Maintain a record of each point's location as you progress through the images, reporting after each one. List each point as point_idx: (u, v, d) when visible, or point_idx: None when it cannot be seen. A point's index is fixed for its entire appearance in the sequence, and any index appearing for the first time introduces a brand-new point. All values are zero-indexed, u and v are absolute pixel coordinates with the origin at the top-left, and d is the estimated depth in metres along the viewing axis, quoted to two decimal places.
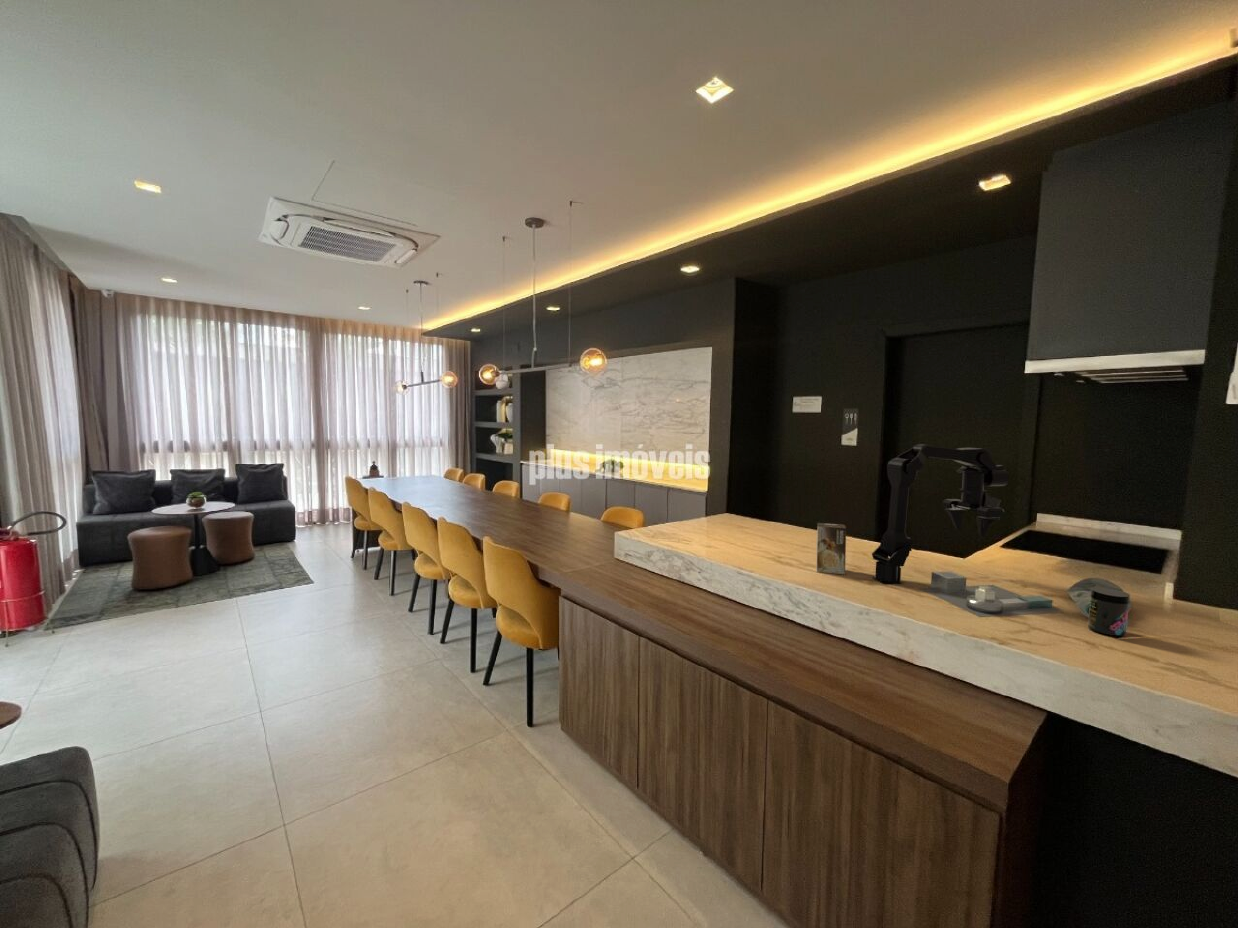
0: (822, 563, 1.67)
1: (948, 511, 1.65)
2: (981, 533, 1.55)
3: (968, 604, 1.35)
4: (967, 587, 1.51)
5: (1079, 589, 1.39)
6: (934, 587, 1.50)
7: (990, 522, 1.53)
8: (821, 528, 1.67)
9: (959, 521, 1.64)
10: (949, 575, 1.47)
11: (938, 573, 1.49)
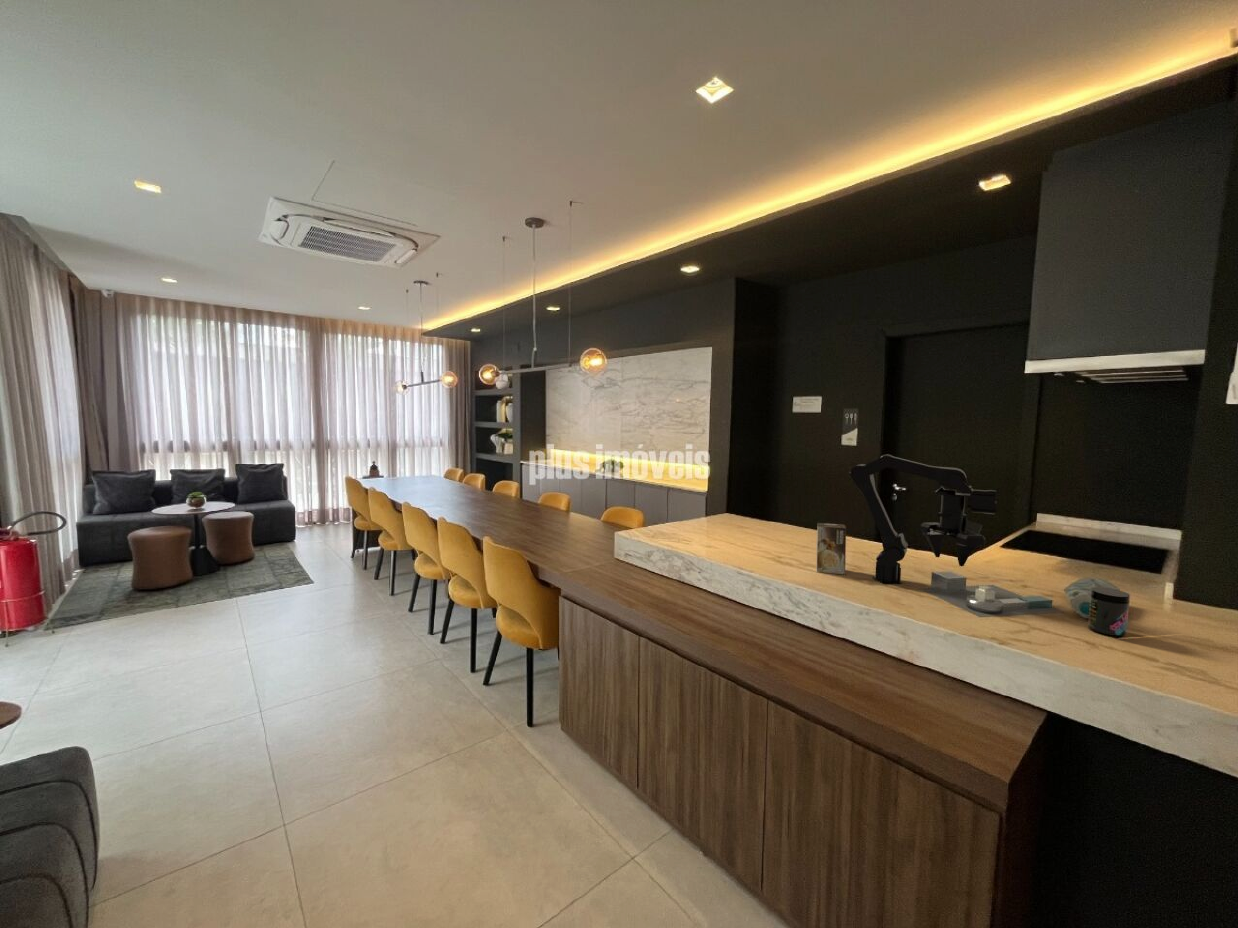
0: (822, 563, 1.67)
1: (926, 536, 1.53)
2: (960, 561, 1.42)
3: (968, 604, 1.35)
4: (967, 587, 1.51)
5: (1076, 588, 1.40)
6: (934, 587, 1.50)
7: (970, 550, 1.41)
8: (821, 528, 1.67)
9: (937, 547, 1.52)
10: (949, 575, 1.47)
11: (938, 573, 1.49)
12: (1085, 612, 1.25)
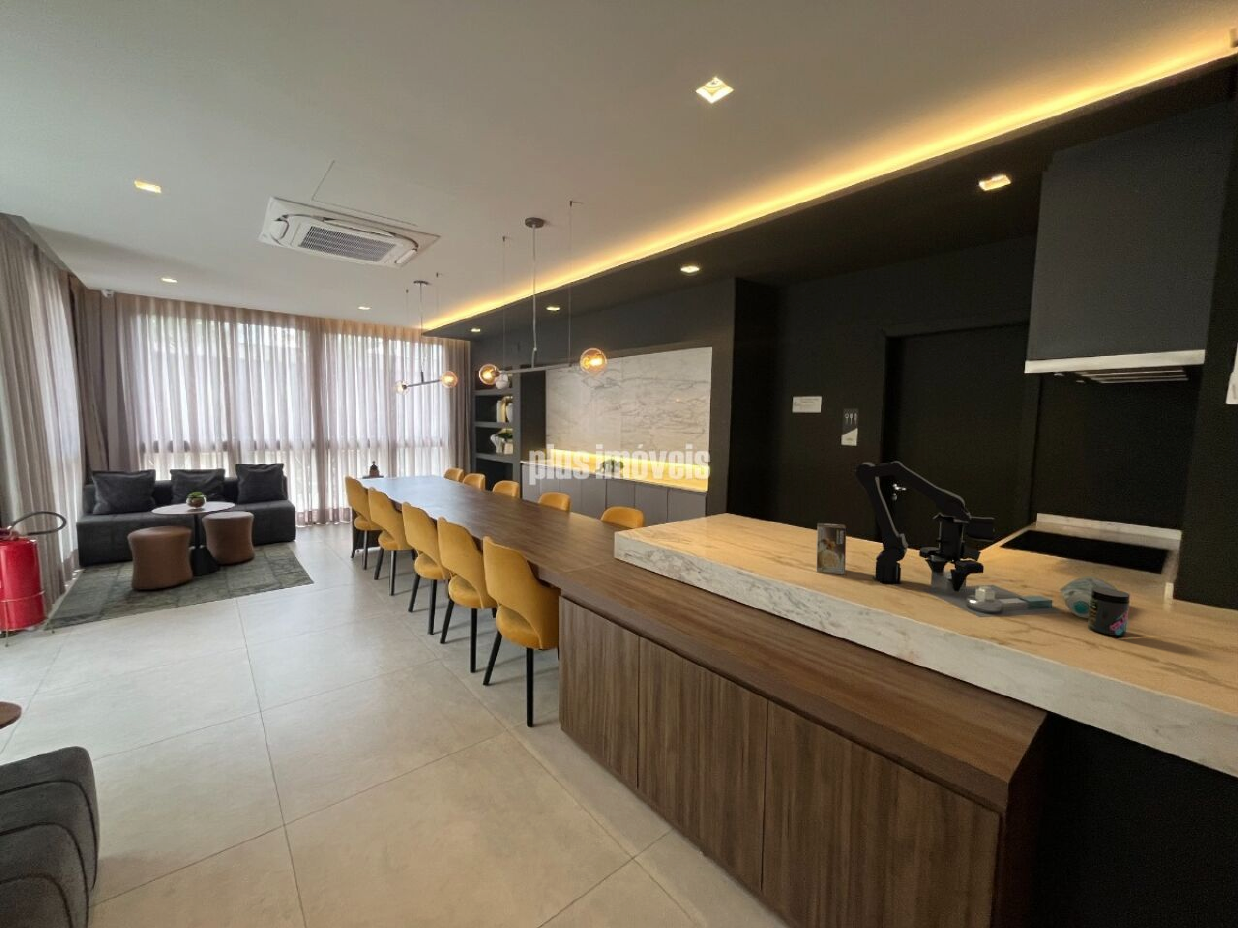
0: (822, 563, 1.67)
1: (928, 562, 1.52)
2: (955, 587, 1.44)
3: (968, 604, 1.35)
4: (967, 587, 1.51)
5: (1072, 588, 1.40)
6: (934, 587, 1.50)
7: (965, 575, 1.43)
8: (821, 528, 1.67)
9: None
10: (949, 575, 1.47)
11: (938, 573, 1.49)
12: (1079, 611, 1.26)
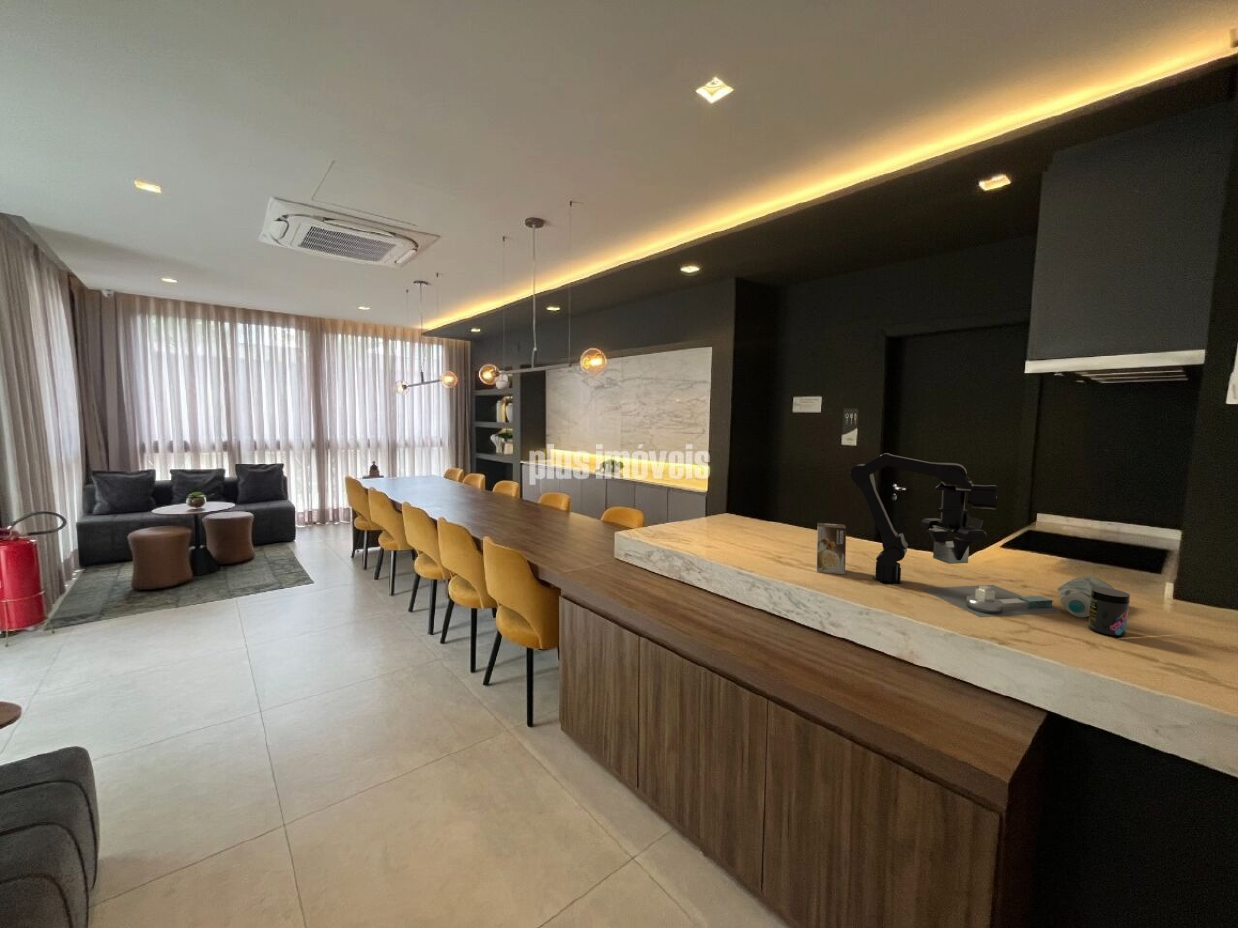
0: (822, 563, 1.67)
1: (930, 532, 1.51)
2: (958, 556, 1.43)
3: (968, 604, 1.35)
4: (967, 587, 1.51)
5: (1070, 587, 1.41)
6: (936, 557, 1.49)
7: (967, 544, 1.42)
8: (821, 528, 1.67)
9: None
10: (951, 544, 1.46)
11: (940, 543, 1.48)
12: (1074, 610, 1.27)
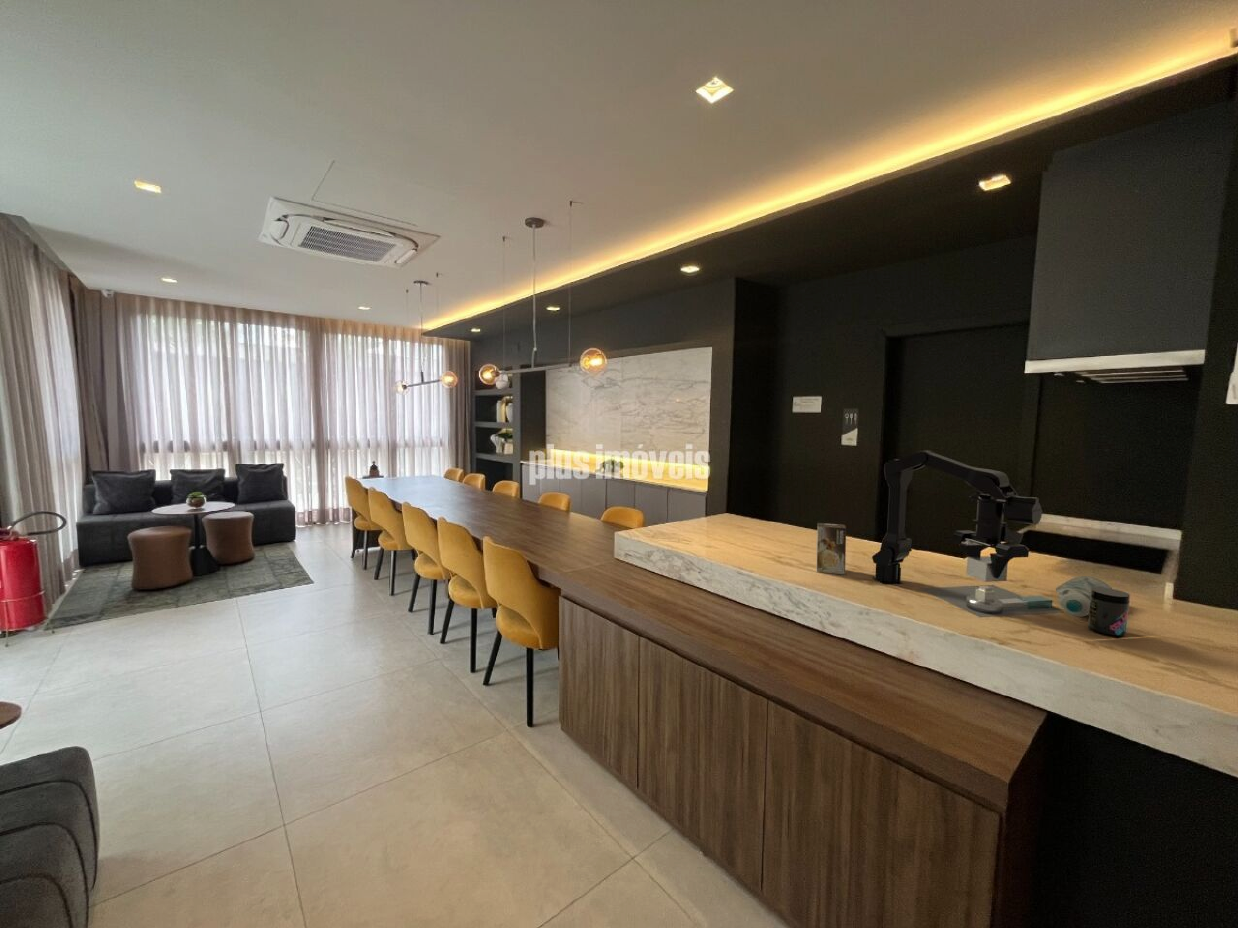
0: (822, 563, 1.67)
1: (963, 546, 1.38)
2: (996, 573, 1.30)
3: (968, 604, 1.35)
4: (967, 587, 1.51)
5: (1068, 587, 1.41)
6: (970, 574, 1.35)
7: (1006, 560, 1.29)
8: (821, 528, 1.67)
9: None
10: (988, 560, 1.33)
11: (975, 558, 1.35)
12: (1071, 609, 1.27)
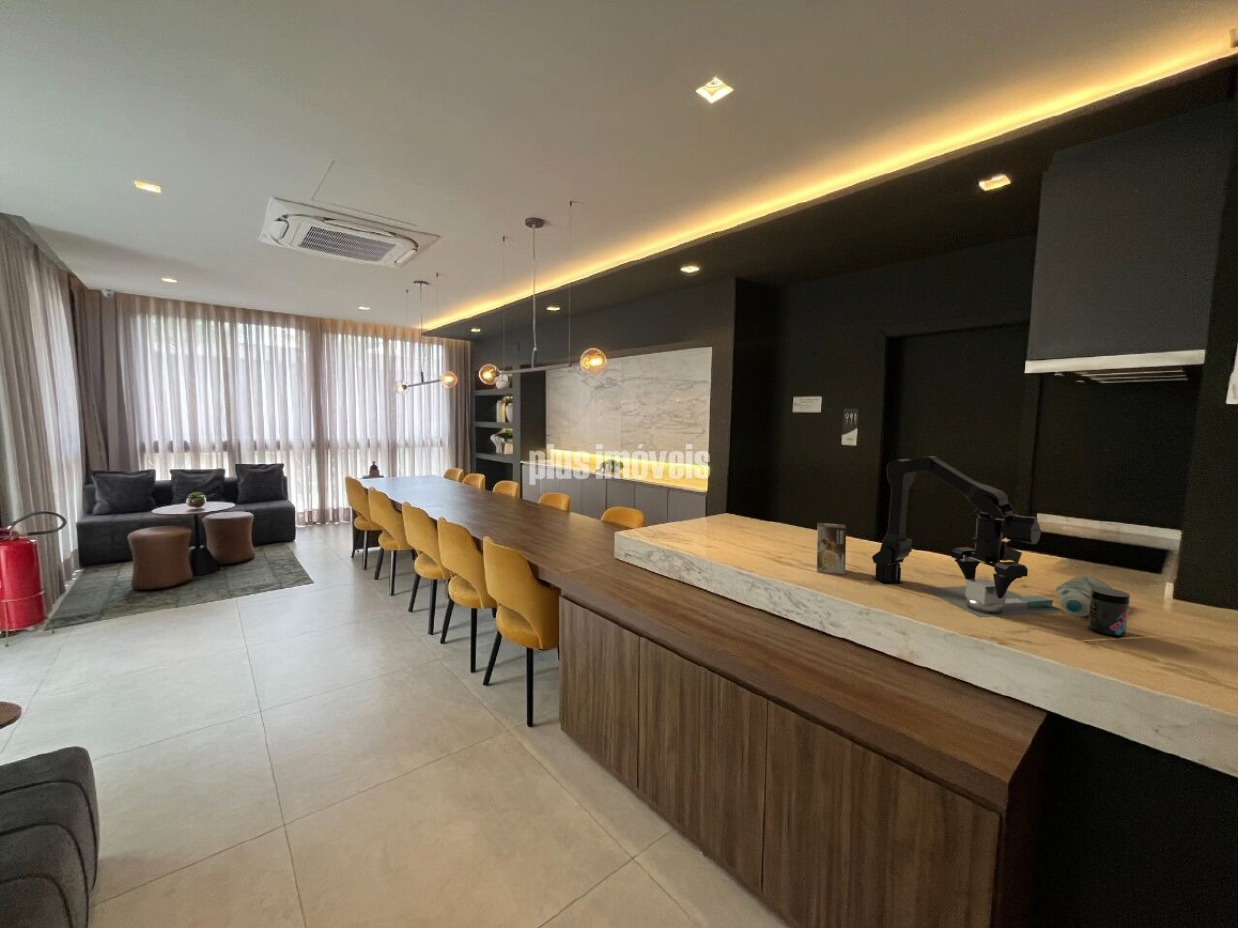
0: (822, 563, 1.67)
1: (959, 563, 1.39)
2: (999, 593, 1.29)
3: (968, 604, 1.35)
4: None
5: (1068, 587, 1.41)
6: (969, 596, 1.36)
7: (1010, 581, 1.28)
8: (821, 528, 1.67)
9: (971, 575, 1.38)
10: (986, 583, 1.33)
11: (974, 580, 1.35)
12: (1071, 609, 1.27)
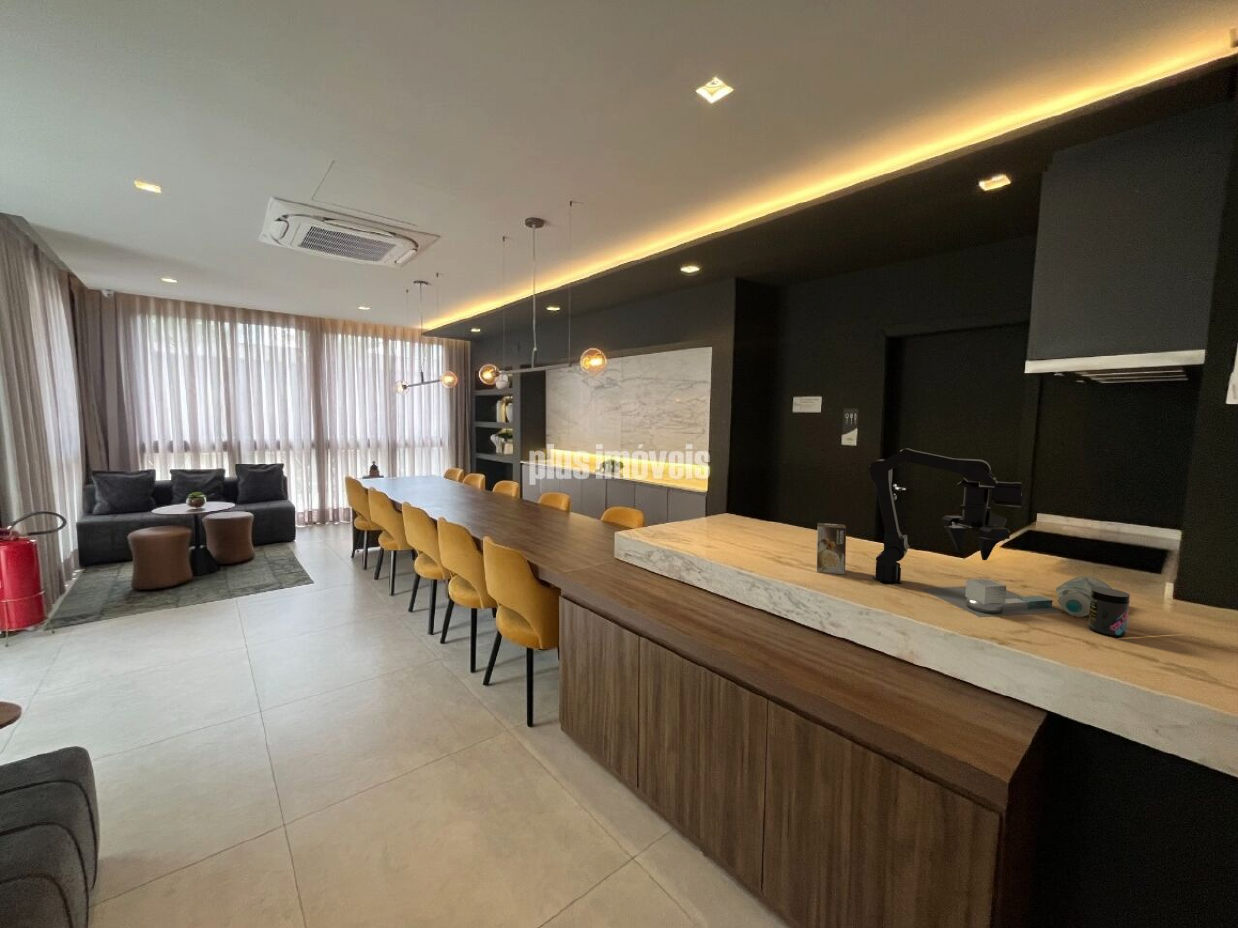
0: (822, 563, 1.67)
1: (948, 529, 1.49)
2: (983, 555, 1.38)
3: (968, 604, 1.35)
4: None
5: (1068, 587, 1.41)
6: (969, 596, 1.36)
7: (994, 543, 1.37)
8: (821, 528, 1.67)
9: (959, 541, 1.48)
10: (986, 583, 1.33)
11: (974, 580, 1.35)
12: (1071, 609, 1.27)
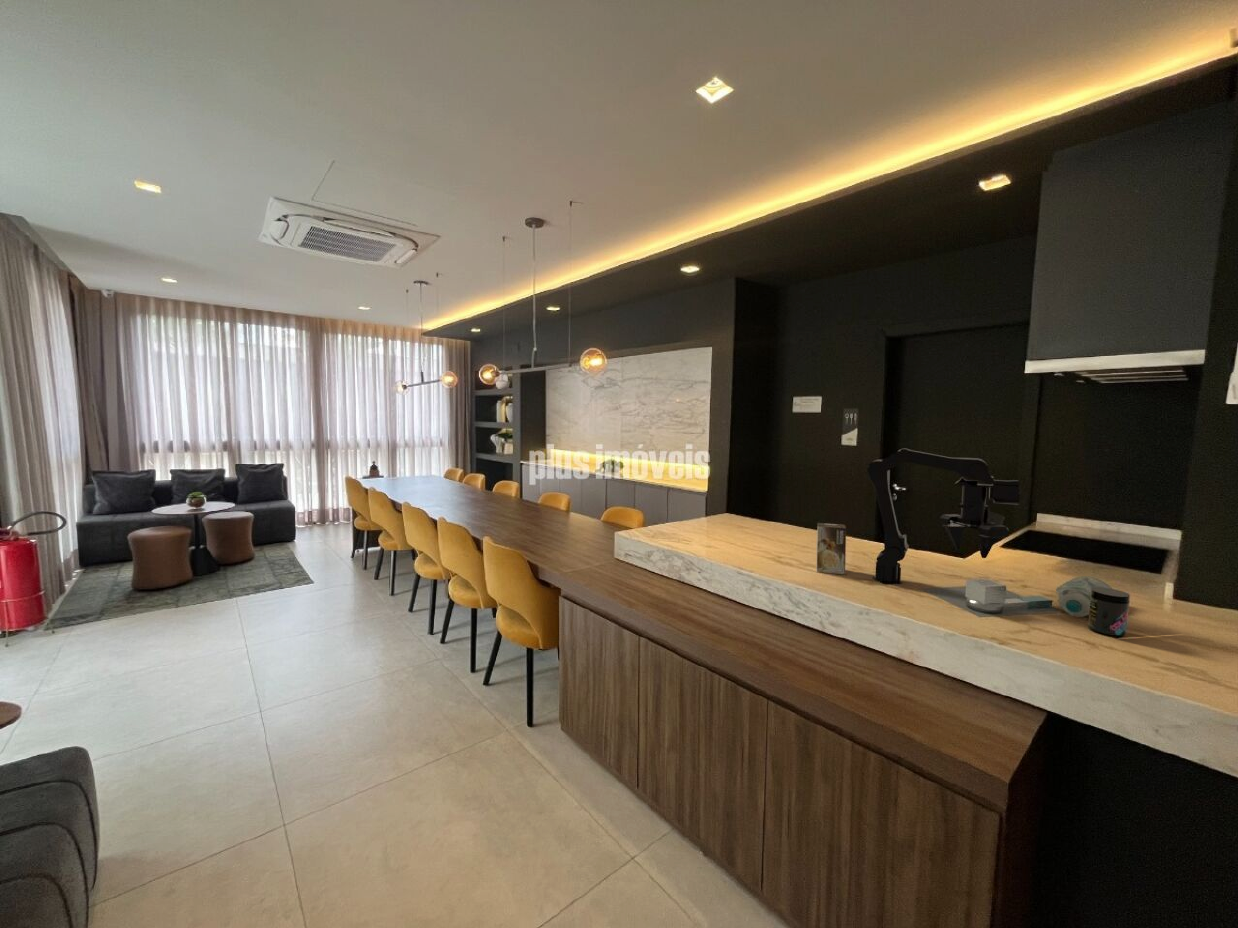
0: (822, 563, 1.67)
1: (946, 528, 1.50)
2: (983, 553, 1.40)
3: (968, 604, 1.35)
4: None
5: (1068, 587, 1.41)
6: (969, 596, 1.36)
7: (993, 541, 1.38)
8: (821, 528, 1.67)
9: (958, 539, 1.49)
10: (986, 583, 1.33)
11: (974, 580, 1.35)
12: (1071, 609, 1.27)
